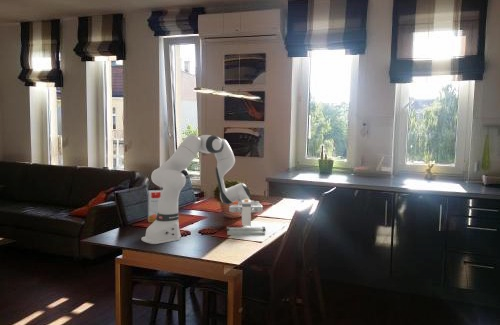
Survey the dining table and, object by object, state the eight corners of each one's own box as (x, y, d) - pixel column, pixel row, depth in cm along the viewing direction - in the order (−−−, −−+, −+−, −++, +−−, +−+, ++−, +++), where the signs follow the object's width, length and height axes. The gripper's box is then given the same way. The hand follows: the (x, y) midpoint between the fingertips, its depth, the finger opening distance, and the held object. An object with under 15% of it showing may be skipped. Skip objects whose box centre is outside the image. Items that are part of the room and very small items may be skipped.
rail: (226, 231, 254) (226, 228, 254) (226, 229, 259) (226, 226, 259) (265, 231, 256) (265, 228, 256) (264, 229, 261) (264, 226, 261)
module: (241, 222, 261) (241, 198, 259) (250, 222, 261) (250, 198, 259) (242, 225, 254) (242, 201, 252) (250, 225, 254) (251, 200, 252)
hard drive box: (148, 222, 278) (147, 192, 276) (147, 220, 286) (147, 190, 284) (172, 221, 283) (172, 191, 281) (171, 218, 290) (171, 189, 288)
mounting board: (227, 234, 252) (227, 232, 252) (227, 230, 262) (227, 228, 262) (265, 234, 253) (265, 232, 253) (263, 230, 263) (263, 228, 263)
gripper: (228, 201, 268) (228, 206, 255) (261, 201, 270) (263, 206, 256) (228, 211, 269) (228, 216, 255) (261, 211, 270) (263, 216, 257)
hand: (246, 211), depth 256 cm, fingers closed on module, 5 cm apart
